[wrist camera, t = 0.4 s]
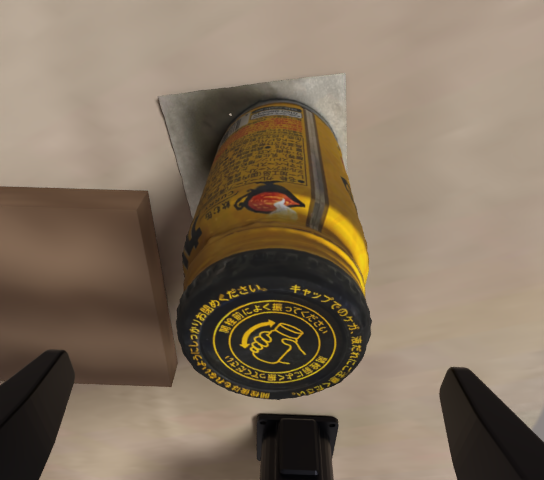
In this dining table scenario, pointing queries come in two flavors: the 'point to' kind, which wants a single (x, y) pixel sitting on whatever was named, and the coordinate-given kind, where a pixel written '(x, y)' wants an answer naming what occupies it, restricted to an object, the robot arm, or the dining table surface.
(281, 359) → the condiment
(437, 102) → the dining table surface
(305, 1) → the dining table surface
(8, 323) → the stand
